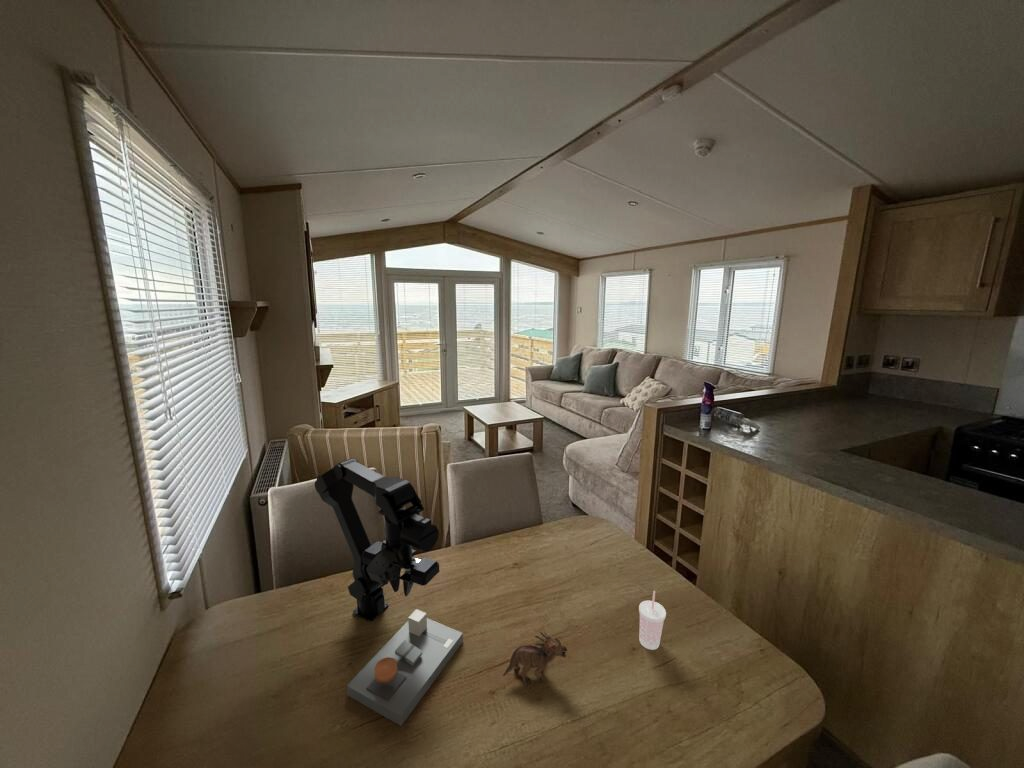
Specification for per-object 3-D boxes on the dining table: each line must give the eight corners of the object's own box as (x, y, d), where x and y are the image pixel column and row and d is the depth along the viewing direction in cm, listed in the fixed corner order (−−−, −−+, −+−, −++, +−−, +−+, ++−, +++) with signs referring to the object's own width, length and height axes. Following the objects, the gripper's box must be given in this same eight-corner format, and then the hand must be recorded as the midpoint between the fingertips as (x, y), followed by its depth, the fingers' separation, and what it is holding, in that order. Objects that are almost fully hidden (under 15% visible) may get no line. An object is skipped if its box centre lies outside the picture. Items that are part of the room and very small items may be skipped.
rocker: (394, 654, 91) (395, 650, 91) (404, 643, 94) (404, 639, 94) (412, 666, 90) (413, 662, 89) (422, 654, 92) (422, 650, 92)
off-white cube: (408, 631, 99) (408, 617, 98) (417, 623, 101) (416, 609, 100) (419, 636, 97) (418, 621, 97) (427, 627, 100) (426, 613, 99)
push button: (370, 681, 84) (369, 671, 84) (385, 664, 88) (384, 654, 88) (387, 690, 83) (386, 679, 82) (401, 672, 86) (401, 662, 86)
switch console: (347, 695, 86) (346, 684, 85) (415, 621, 105) (415, 612, 105) (401, 726, 80) (400, 714, 79) (462, 641, 99) (462, 631, 99)
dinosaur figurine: (558, 656, 96) (560, 622, 94) (566, 679, 90) (567, 643, 88) (499, 664, 93) (500, 629, 91) (503, 688, 88) (503, 652, 86)
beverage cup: (667, 641, 100) (672, 590, 97) (655, 657, 96) (661, 604, 93) (643, 627, 104) (647, 578, 101) (631, 642, 100) (635, 591, 97)
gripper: (341, 542, 93) (346, 602, 96) (407, 566, 85) (411, 631, 88) (377, 518, 103) (380, 574, 106) (439, 538, 95) (441, 597, 98)
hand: (401, 593), depth 99 cm, fingers open, 3 cm apart
